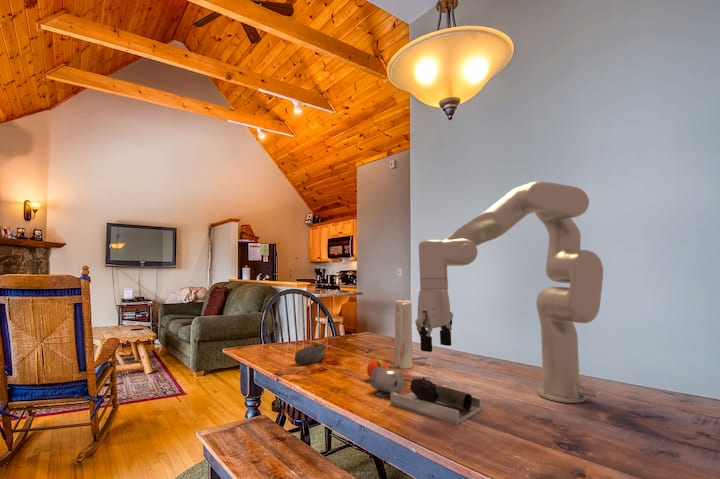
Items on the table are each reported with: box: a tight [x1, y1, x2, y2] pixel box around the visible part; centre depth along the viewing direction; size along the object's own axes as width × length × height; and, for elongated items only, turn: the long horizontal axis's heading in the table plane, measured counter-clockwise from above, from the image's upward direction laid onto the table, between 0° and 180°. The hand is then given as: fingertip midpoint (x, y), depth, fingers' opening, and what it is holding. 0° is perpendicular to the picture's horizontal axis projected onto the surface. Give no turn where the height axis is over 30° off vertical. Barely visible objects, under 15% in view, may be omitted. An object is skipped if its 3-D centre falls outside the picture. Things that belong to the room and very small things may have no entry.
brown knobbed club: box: [409, 377, 473, 411], centre depth 102 cm, size 18×7×6 cm, turn 45°
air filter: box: [394, 299, 413, 370], centre depth 145 cm, size 6×6×25 cm
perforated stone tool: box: [294, 343, 326, 366], centre depth 150 cm, size 15×5×7 cm, turn 135°
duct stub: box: [369, 367, 406, 398], centre depth 113 cm, size 8×7×7 cm
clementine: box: [366, 358, 388, 378], centre depth 126 cm, size 8×7×7 cm
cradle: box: [389, 391, 483, 425], centre depth 102 cm, size 20×13×3 cm
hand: (436, 348), depth 103 cm, fingers open, 9 cm apart
